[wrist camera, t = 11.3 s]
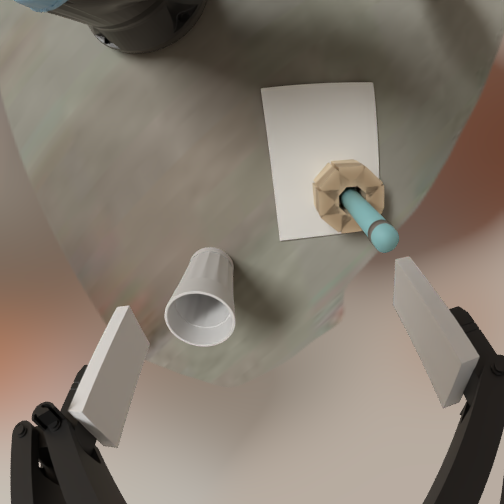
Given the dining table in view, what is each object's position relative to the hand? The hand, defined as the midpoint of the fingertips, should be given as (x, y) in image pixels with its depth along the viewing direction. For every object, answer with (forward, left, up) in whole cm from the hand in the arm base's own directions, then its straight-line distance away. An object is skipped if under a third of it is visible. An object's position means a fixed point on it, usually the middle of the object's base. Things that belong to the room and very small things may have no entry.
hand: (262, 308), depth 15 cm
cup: (+12, -8, -27) cm, 31 cm away
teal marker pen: (+3, +11, -27) cm, 29 cm away
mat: (-1, +9, -27) cm, 28 cm away
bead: (+3, +11, -27) cm, 29 cm away
